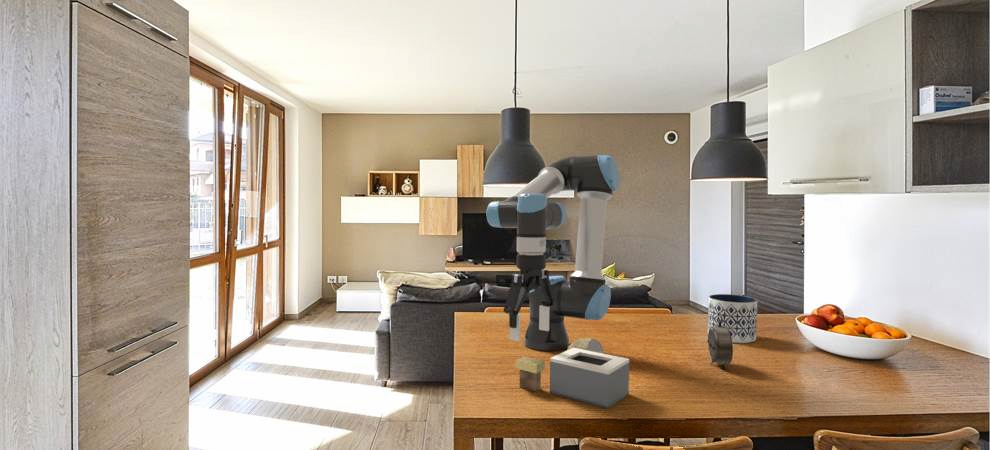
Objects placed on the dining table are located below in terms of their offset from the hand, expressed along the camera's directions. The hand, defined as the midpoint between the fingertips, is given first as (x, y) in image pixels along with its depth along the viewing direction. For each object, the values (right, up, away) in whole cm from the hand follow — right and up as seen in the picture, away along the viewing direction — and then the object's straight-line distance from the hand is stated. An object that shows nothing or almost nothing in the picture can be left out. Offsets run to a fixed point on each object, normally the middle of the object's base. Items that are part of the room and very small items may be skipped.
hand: (530, 335), depth 133 cm
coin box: (+15, -14, -3) cm, 21 cm away
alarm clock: (+58, -14, +20) cm, 62 cm away
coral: (+17, -14, +17) cm, 27 cm away
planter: (+76, -12, +52) cm, 93 cm away
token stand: (0, -14, +1) cm, 14 cm away
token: (0, -9, +1) cm, 9 cm away
